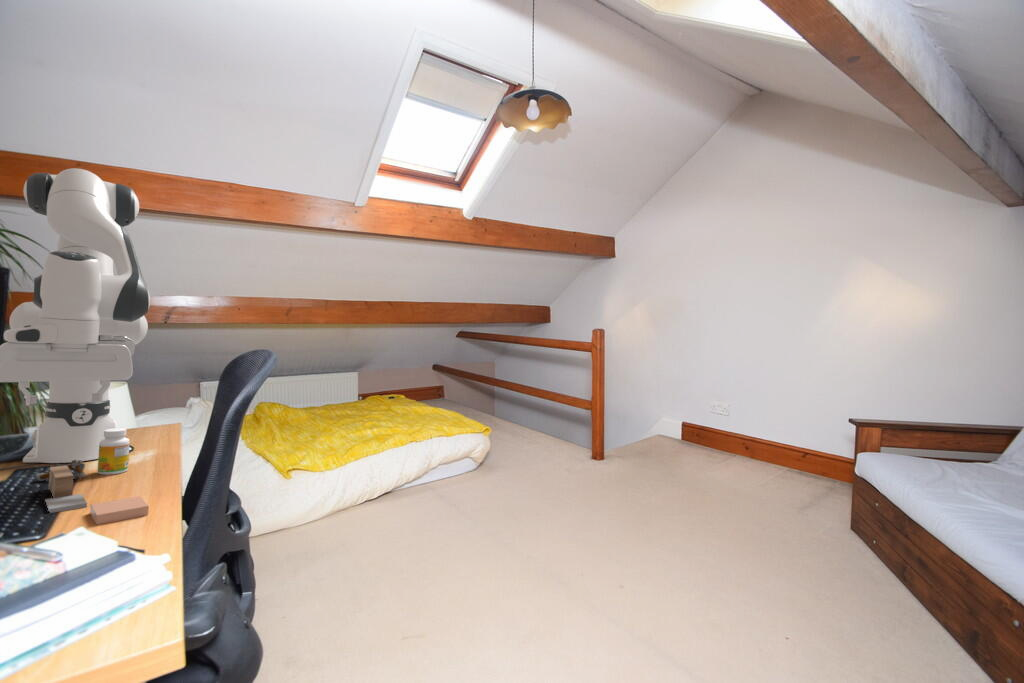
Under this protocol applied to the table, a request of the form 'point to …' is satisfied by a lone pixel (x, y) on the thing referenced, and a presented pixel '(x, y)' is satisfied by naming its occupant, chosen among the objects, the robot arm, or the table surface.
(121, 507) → the tile
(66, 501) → the brown bar with plate
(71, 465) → the wooden post with brackets
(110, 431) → the supplement bottle
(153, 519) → the table surface
